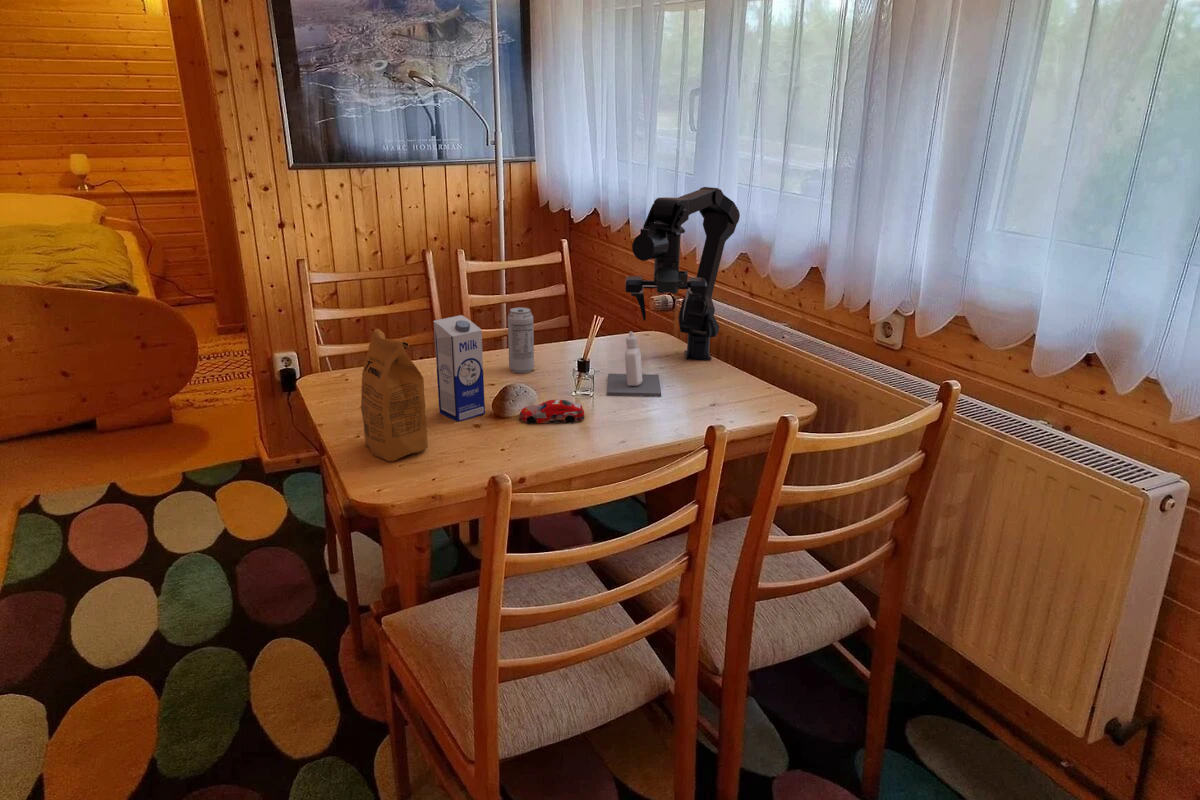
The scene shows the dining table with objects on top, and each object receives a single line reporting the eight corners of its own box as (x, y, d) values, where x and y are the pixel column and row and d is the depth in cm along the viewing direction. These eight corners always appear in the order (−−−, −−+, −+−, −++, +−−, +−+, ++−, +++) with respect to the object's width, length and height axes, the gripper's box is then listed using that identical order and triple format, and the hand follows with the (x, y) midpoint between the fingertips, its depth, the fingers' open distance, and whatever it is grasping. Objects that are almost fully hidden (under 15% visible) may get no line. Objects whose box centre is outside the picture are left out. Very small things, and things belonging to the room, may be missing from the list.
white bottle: (649, 380, 178) (646, 329, 174) (634, 387, 174) (630, 336, 170) (635, 378, 181) (631, 328, 177) (619, 384, 177) (615, 334, 173)
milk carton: (466, 405, 166) (462, 313, 159) (485, 413, 161) (482, 320, 154) (438, 413, 161) (432, 319, 154) (457, 422, 156) (452, 326, 149)
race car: (519, 426, 156) (518, 407, 155) (519, 416, 161) (519, 398, 160) (584, 424, 157) (584, 406, 156) (583, 414, 162) (583, 396, 161)
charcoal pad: (607, 376, 184) (608, 373, 184) (658, 377, 184) (658, 374, 184) (607, 395, 172) (607, 392, 172) (661, 396, 172) (661, 393, 172)
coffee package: (406, 431, 152) (398, 322, 144) (435, 452, 143) (427, 337, 135) (357, 443, 146) (345, 330, 138) (383, 466, 137) (372, 347, 129)
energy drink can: (533, 366, 191) (532, 306, 186) (534, 373, 186) (533, 312, 180) (508, 366, 190) (507, 307, 185) (509, 374, 185) (507, 313, 180)
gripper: (626, 260, 170) (624, 329, 175) (711, 262, 170) (707, 330, 175) (626, 251, 180) (624, 316, 186) (706, 253, 180) (702, 318, 186)
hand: (664, 320), depth 183 cm, fingers open, 9 cm apart
